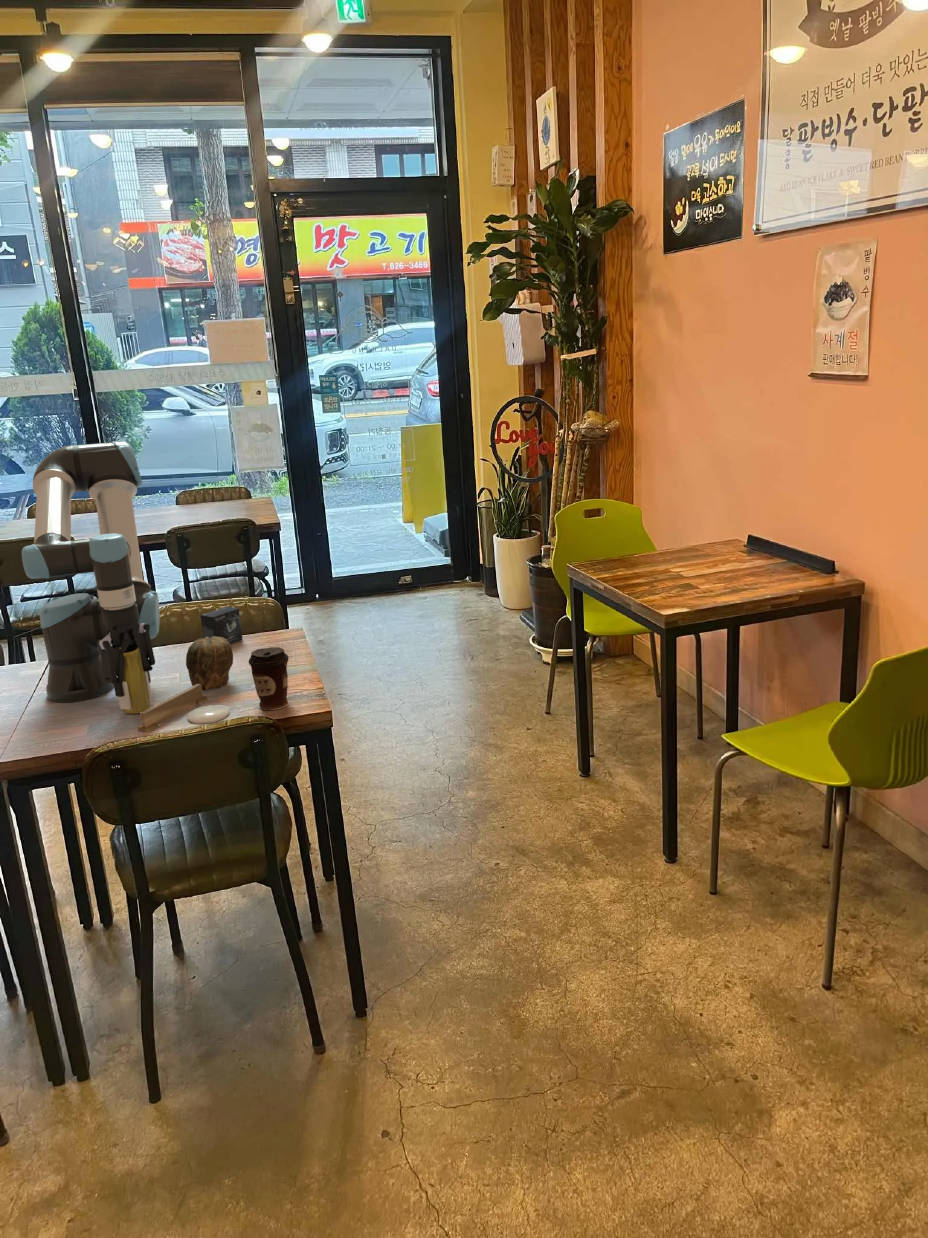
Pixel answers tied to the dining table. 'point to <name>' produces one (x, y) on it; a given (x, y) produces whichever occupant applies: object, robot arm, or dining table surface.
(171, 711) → the divider
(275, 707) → the coffee cup
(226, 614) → the box
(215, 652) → the shell
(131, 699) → the vase
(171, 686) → the dining table surface
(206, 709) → the coaster
